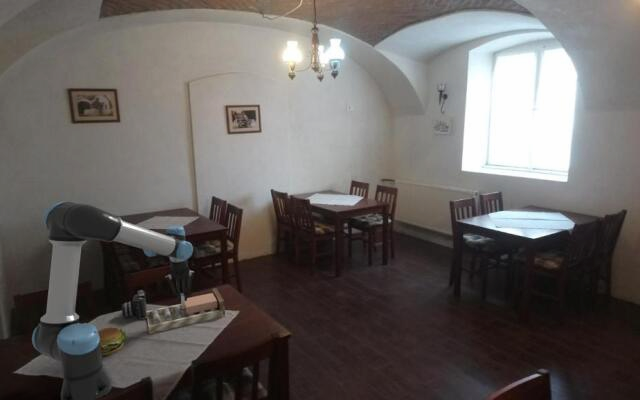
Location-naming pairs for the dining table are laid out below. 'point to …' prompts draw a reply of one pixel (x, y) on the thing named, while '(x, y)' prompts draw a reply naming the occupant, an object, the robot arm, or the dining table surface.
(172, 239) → the robot arm
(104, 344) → the food
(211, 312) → the roller bed
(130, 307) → the camera
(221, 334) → the dining table surface
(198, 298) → the slab
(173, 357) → the dining table surface
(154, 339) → the dining table surface
